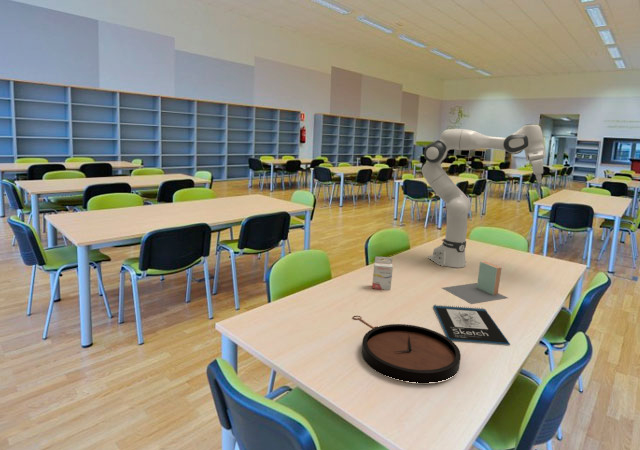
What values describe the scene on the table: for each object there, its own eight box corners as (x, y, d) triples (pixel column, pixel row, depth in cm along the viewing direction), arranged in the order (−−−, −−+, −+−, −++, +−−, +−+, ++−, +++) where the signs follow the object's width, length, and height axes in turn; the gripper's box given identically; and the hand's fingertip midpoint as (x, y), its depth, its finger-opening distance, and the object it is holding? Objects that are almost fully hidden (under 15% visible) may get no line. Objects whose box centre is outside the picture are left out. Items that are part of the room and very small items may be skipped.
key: (387, 332, 154) (362, 316, 166) (387, 329, 153) (362, 313, 166) (375, 334, 150) (350, 317, 163) (375, 332, 150) (350, 315, 163)
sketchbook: (447, 342, 148) (448, 337, 147) (432, 308, 177) (432, 303, 176) (509, 347, 146) (510, 341, 146) (483, 311, 175) (484, 306, 175)
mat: (441, 289, 198) (441, 287, 197) (476, 284, 206) (476, 282, 206) (471, 305, 180) (471, 304, 180) (508, 299, 188) (508, 297, 188)
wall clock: (435, 386, 114) (343, 346, 133) (433, 399, 115) (342, 357, 134) (475, 345, 138) (392, 316, 157) (473, 356, 139) (391, 325, 158)
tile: (476, 287, 200) (480, 261, 197) (481, 286, 201) (485, 261, 198) (492, 295, 191) (496, 268, 188) (497, 294, 192) (501, 267, 189)
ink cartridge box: (372, 289, 194) (374, 259, 190) (372, 285, 198) (374, 255, 195) (390, 290, 193) (393, 260, 190) (390, 286, 198) (392, 257, 194)
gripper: (528, 157, 219) (531, 183, 220) (529, 156, 201) (533, 184, 202) (541, 155, 216) (545, 181, 217) (543, 154, 198) (547, 182, 199)
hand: (539, 183), depth 209 cm, fingers open, 8 cm apart
